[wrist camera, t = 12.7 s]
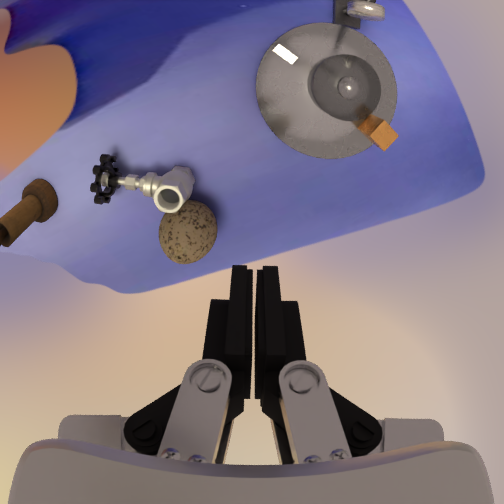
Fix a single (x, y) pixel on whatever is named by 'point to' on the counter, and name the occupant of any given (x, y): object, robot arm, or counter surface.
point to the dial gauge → (356, 12)
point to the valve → (144, 184)
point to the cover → (344, 87)
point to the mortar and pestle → (28, 211)
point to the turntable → (301, 105)
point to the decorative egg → (188, 232)
